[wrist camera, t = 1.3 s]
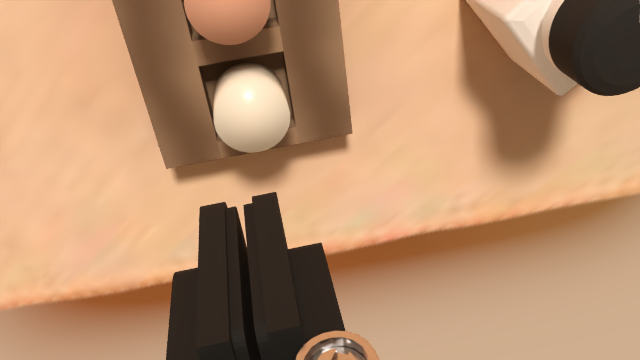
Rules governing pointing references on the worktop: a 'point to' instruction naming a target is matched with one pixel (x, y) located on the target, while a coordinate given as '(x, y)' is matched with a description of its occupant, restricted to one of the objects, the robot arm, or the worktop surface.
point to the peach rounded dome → (227, 19)
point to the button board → (214, 59)
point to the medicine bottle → (569, 41)
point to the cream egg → (250, 108)
